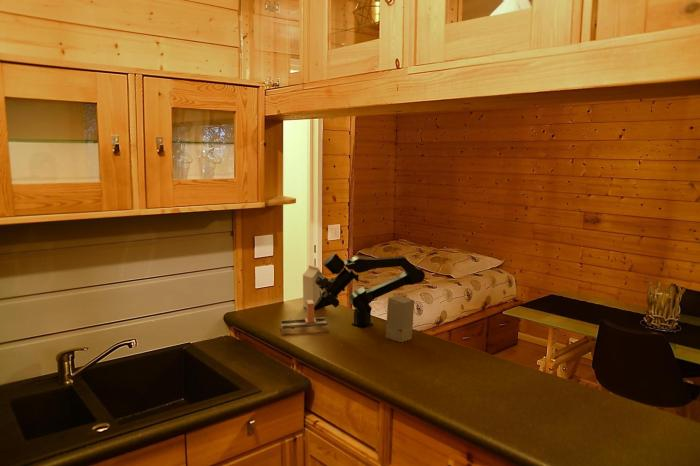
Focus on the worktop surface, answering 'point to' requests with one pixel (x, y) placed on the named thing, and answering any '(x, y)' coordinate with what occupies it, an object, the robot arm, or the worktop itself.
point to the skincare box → (399, 318)
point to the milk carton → (311, 285)
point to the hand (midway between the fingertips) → (314, 309)
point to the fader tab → (310, 312)
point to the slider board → (303, 326)
